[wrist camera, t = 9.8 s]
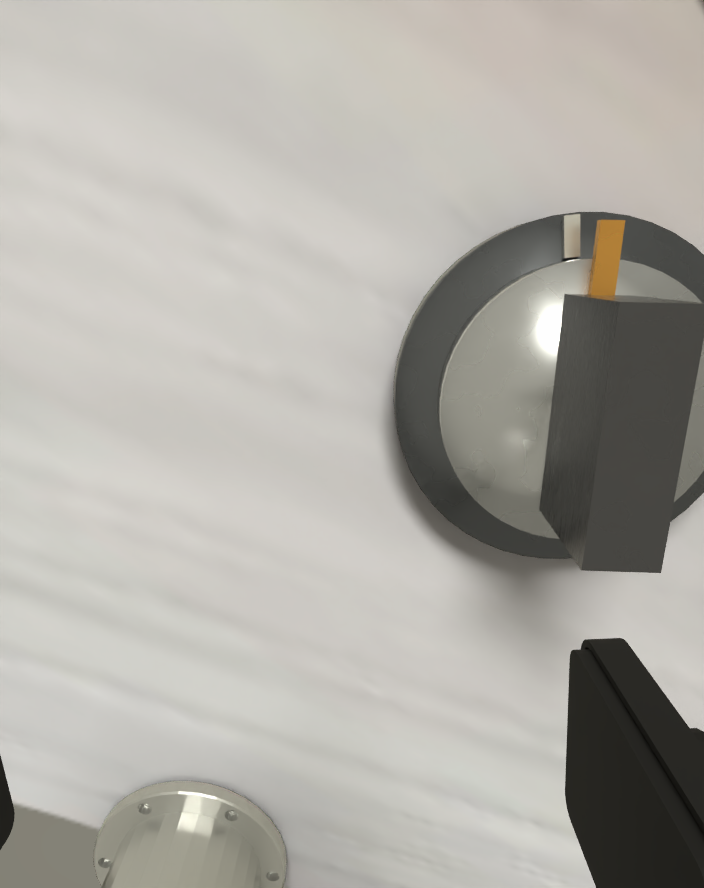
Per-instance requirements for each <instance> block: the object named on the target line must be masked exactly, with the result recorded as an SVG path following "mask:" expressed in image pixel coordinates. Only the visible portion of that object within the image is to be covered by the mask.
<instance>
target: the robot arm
mask: <svg viewBox="0 0 704 888" xmlns="http://www.w3.org/2000/svg"><path fill="white" fill-rule="evenodd" d="M565 796H566V804H567V809H568V813H569V817H570V820H571V823H572V825H573V828H574V831H575V833H576V836H577V838H578V841H579V844H580V846H581V849H582V851H583V854H584V857H585V859H586V862H587V865H588V867H589V870H590V872H591V875H592V878H593V880H594V883H595V885H596V888H704V732H703V731H701V730H699V729H697V728H691V729H690V728H689V727H688V726H687V724H686V723H685V721H684V720H683V719H682V717H681V716H680V715H679V713H678V712H677V710H676V709H675V708H674V706H673V705H672V704H671V702H670V701H669V699H668V698H667V697H666V695H665V694H664V693H663V691H662V690H661V688H660V687H659V686H658V684H657V683H656V682H655V680H654V679H653V677H652V676H651V675H650V673H649V672H648V671H647V669H646V668H645V667H644V665H643V664H642V662H641V661H640V660H639V658H638V657H637V656H636V654H635V653H634V651H633V650H632V649H631V647H630V646H629V645H628V643H627V642H626V641H625V640H624V639H621V638H612V639H588V640H584V641H583V643H582V646H581V650H572V651H571V654H570V669H569V697H568V726H567V754H566V782H565ZM13 822H14V807H13V803H12V799H11V795H10V791H9V788H8V784H7V780H6V776H5V772H4V768H3V764H2V760H1V756H0V850H1V848H2V846H3V845H4V843H5V842H6V840H7V838H8V837H9V835H10V832H11V830H12V827H13ZM93 862H94V867H95V871H96V875H97V879H98V881H99V883H100V885H101V888H283V885H284V880H285V873H286V863H287V859H286V851H285V846H284V843H283V841H282V838H281V835H280V833H279V831H278V830H277V828H276V827H275V825H274V824H273V822H272V821H271V819H270V818H269V817H268V816H267V815H266V814H265V813H264V812H263V811H262V810H261V809H260V808H259V807H257V806H256V805H254V804H253V803H252V802H250V801H249V800H247V799H246V798H245V797H243V796H241V795H238V794H236V793H234V792H232V791H230V790H228V789H225V788H222V787H219V786H216V785H212V784H208V783H201V782H195V781H171V782H165V783H158V784H154V785H151V786H148V787H145V788H142V789H139V790H137V791H136V792H134V793H132V794H130V795H129V796H127V797H125V798H124V799H123V800H122V801H120V802H119V803H118V804H117V805H116V806H115V807H114V808H113V809H112V810H111V812H110V813H109V815H108V816H107V817H106V819H105V821H104V823H103V825H102V827H101V829H100V832H99V834H98V836H97V839H96V843H95V846H94V853H93Z"/></svg>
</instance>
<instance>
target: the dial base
mask: <svg viewBox="0 0 704 888" xmlns="http://www.w3.org/2000/svg"><path fill="white" fill-rule="evenodd" d="M597 220H625V227H624V234H623V241H622V249H621V256H620V260H626V261H630V262H634V263H639V264H643V265H646V266H648V267H651V268H653V269H656V270H659V271H661V272H663V273H665V274H667V275H668V276H670V277H672V278H673V279H675V280H677V281H679V282H680V283H681V284H682V285H684V286H685V287H686V288H687V289H689V290H690V291H691V292H692V293H694V295H695V296H696V297H697V298H698V299H699V300H700V301H701V302H702V303H704V255H703V254H702V253H701V252H700V251H699V250H698V249H697V248H696V247H695V246H693V245H692V244H690V243H689V242H687V241H686V240H684V239H683V238H681V237H680V236H678V235H677V234H675V233H673V232H671V231H669V230H667V229H665V228H663V227H660V226H658V225H656V224H654V223H652V222H648V221H645V220H642V219H638V218H635V217H631V216H627V215H620V214H613V213H606V212H576V213H569V214H561V215H554V216H550V217H546V218H543V219H539V220H535V221H532V222H528V223H525V224H521V225H517V226H515V227H513V228H510V229H508V230H506V231H503V232H501V233H499V234H496V235H494V236H493V237H491V238H489V239H487V240H486V241H484V242H482V243H481V244H479V245H477V246H475V247H474V248H473V249H471V250H470V251H469V252H467V253H466V254H465V255H463V256H462V257H461V258H460V259H458V260H457V261H456V262H455V263H454V264H453V265H452V266H451V267H450V268H449V269H448V270H447V271H446V272H445V273H444V274H443V275H441V276H440V277H439V279H438V280H437V281H436V282H435V284H434V285H433V286H432V287H431V289H430V290H429V291H428V293H427V294H426V295H425V296H424V298H423V300H422V301H421V303H420V305H419V306H418V308H417V310H416V311H415V313H414V315H413V316H412V319H411V321H410V323H409V326H408V328H407V330H406V332H405V335H404V337H403V340H402V344H401V347H400V351H399V354H398V357H397V363H396V370H395V376H394V409H395V418H396V425H397V431H398V435H399V439H400V443H401V447H402V451H403V453H404V456H405V458H406V461H407V463H408V466H409V468H410V471H411V473H412V474H413V476H414V478H415V480H416V481H417V483H418V485H419V487H420V488H421V490H422V491H423V492H424V494H425V495H426V496H427V498H428V499H429V500H430V501H431V503H432V504H433V505H434V506H435V507H436V508H437V509H438V510H439V511H440V512H441V513H442V514H443V515H444V516H445V517H446V518H447V519H448V520H449V521H450V522H452V523H453V524H454V525H456V526H457V527H458V528H460V529H461V530H462V531H464V532H465V533H467V534H469V535H470V536H472V537H474V538H476V539H478V540H479V541H481V542H483V543H485V544H488V545H490V546H493V547H495V548H498V549H500V550H503V551H507V552H511V553H515V554H519V555H522V556H530V557H537V558H553V559H567V558H573V557H572V556H571V555H570V553H569V552H568V550H567V549H566V547H565V546H564V545H563V543H562V542H561V540H560V539H556V538H548V537H543V536H539V535H534V534H531V533H528V532H525V531H522V530H519V529H516V528H514V527H512V526H510V525H509V524H507V523H505V522H503V521H501V520H499V519H498V518H496V517H495V516H493V515H492V514H491V513H489V512H488V511H486V510H485V509H484V508H483V507H482V506H481V505H480V504H479V503H478V502H477V501H475V500H474V498H473V497H472V496H471V495H470V494H469V492H468V491H467V490H466V489H465V488H464V486H463V485H462V483H461V481H460V480H459V478H458V477H457V475H456V473H455V471H454V469H453V467H452V465H451V462H450V460H449V458H448V456H447V453H446V451H445V448H444V445H443V442H442V438H441V435H440V431H439V423H438V416H437V395H438V388H439V380H440V376H441V372H442V369H443V365H444V362H445V359H446V357H447V354H448V352H449V349H450V347H451V345H452V343H453V341H454V340H455V338H456V336H457V334H458V333H459V331H460V329H461V328H462V326H463V325H464V324H465V322H466V321H467V320H468V318H469V317H470V316H471V314H472V313H473V312H474V311H475V310H476V309H477V308H478V307H479V306H480V305H481V304H482V303H483V302H484V301H485V300H486V299H487V298H488V297H490V296H491V295H492V294H493V293H494V292H496V291H497V290H498V289H499V288H501V287H502V286H504V285H505V284H507V283H509V282H510V281H512V280H513V279H515V278H517V277H519V276H521V275H523V274H525V273H527V272H529V271H532V270H534V269H537V268H540V267H543V266H546V265H549V264H552V263H557V262H562V261H568V260H576V259H592V258H593V250H594V243H595V235H596V227H597ZM703 493H704V471H703V472H702V473H701V475H700V476H699V478H698V479H697V480H696V481H695V482H694V483H693V484H692V486H691V487H690V488H689V489H688V490H687V491H686V492H685V493H684V494H683V495H682V496H681V497H679V498H678V499H677V500H676V501H675V502H674V504H673V509H672V515H671V520H670V522H671V521H672V520H673V519H675V518H676V517H677V516H678V515H680V514H681V513H682V512H684V511H685V510H686V509H687V508H688V507H689V506H690V505H691V504H692V503H693V502H694V501H695V500H696V499H697V498H698V497H699V496H701V495H702V494H703Z"/></svg>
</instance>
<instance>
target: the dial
mask: <svg viewBox="0 0 704 888" xmlns="http://www.w3.org/2000/svg"><path fill="white" fill-rule="evenodd" d="M624 227H625V220H597V227H596V235H595V243H594V250H593V258H592V259H576V260H568V261H562V262H557V263H552V264H549V265H546V266H543V267H540V268H537V269H534V270H532V271H529V272H527V273H525V274H523V275H521V276H519V277H517V278H515V279H513V280H512V281H510V282H509V283H507V284H505V285H504V286H502V287H501V288H499V289H498V290H497V291H496V292H494V293H493V294H492V295H491V296H490V297H488V298H487V299H486V300H485V301H484V302H483V303H482V304H481V305H480V306H479V307H478V308H477V309H476V310H475V311H474V312H473V313H472V314H471V316H470V317H469V318H468V320H467V321H466V322H465V324H464V325H463V326H462V328H461V329H460V331H459V333H458V334H457V336H456V338H455V340H454V341H453V343H452V345H451V347H450V349H449V352H448V354H447V357H446V359H445V362H444V365H443V369H442V372H441V376H440V380H439V388H438V395H437V416H438V423H439V431H440V435H441V438H442V442H443V445H444V448H445V451H446V453H447V456H448V458H449V460H450V462H451V465H452V467H453V469H454V471H455V473H456V475H457V477H458V478H459V480H460V481H461V483H462V485H463V486H464V488H465V489H466V490H467V491H468V492H469V494H470V495H471V496H472V497H473V498H474V500H475V501H477V502H478V503H479V504H480V505H481V506H482V507H483V508H484V509H485V510H486V511H488V512H489V513H491V514H492V515H493V516H495V517H496V518H498V519H499V520H501V521H503V522H505V523H507V524H509V525H510V526H512V527H514V528H516V529H519V530H522V531H525V532H528V533H531V534H534V535H539V536H543V537H548V538H556V539H560V540H561V542H562V543H563V545H564V546H565V547H566V549H567V550H568V552H569V553H570V555H571V556H572V557H573V559H574V560H575V562H576V563H577V565H578V566H579V567H580V569H581V570H587V571H618V572H649V573H661V569H662V564H663V558H664V553H665V547H666V542H667V537H668V531H669V526H670V520H671V515H672V509H673V504H674V502H675V501H676V500H677V499H678V498H679V497H681V496H682V495H683V494H684V493H685V492H686V491H687V490H688V489H689V488H690V487H691V486H692V484H693V483H694V482H695V481H696V480H697V479H698V478H699V476H700V475H701V473H702V472H703V471H704V303H702V302H701V301H700V300H699V299H698V298H697V297H696V296H695V295H694V293H692V292H691V291H690V290H689V289H687V288H686V287H685V286H684V285H682V284H681V283H680V282H679V281H677V280H675V279H673V278H672V277H670V276H668V275H667V274H665V273H663V272H661V271H659V270H656V269H653V268H651V267H648V266H646V265H643V264H639V263H634V262H630V261H626V260H620V256H621V249H622V241H623V234H624Z"/></svg>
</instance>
